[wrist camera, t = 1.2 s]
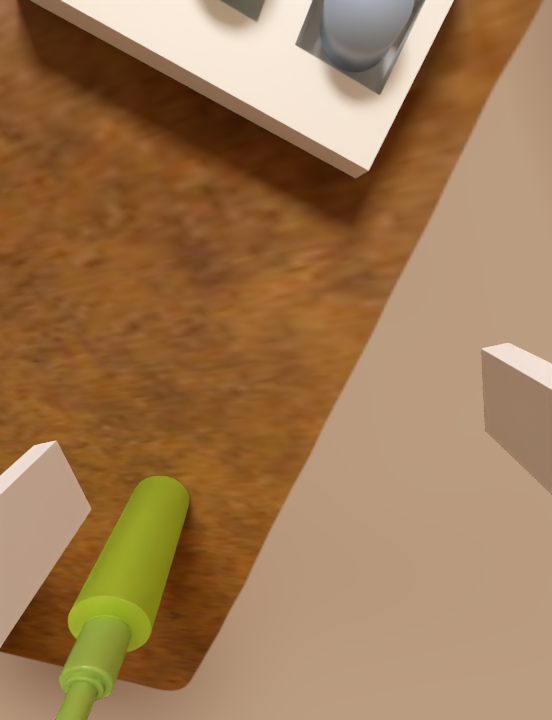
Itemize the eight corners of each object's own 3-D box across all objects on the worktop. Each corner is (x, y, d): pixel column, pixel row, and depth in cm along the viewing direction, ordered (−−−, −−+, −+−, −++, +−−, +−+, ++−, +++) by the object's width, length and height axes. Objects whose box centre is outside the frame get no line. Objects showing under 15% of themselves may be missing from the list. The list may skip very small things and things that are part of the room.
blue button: (306, 48, 23) (311, 20, 20) (342, -42, 22) (354, -86, 19) (371, 87, 24) (386, 66, 21) (411, 3, 22) (433, -33, 19)
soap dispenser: (200, 521, 39) (135, 789, 20) (136, 519, 39) (10, 789, 20) (198, 476, 37) (124, 727, 18) (131, 474, 37) (-14, 726, 18)
